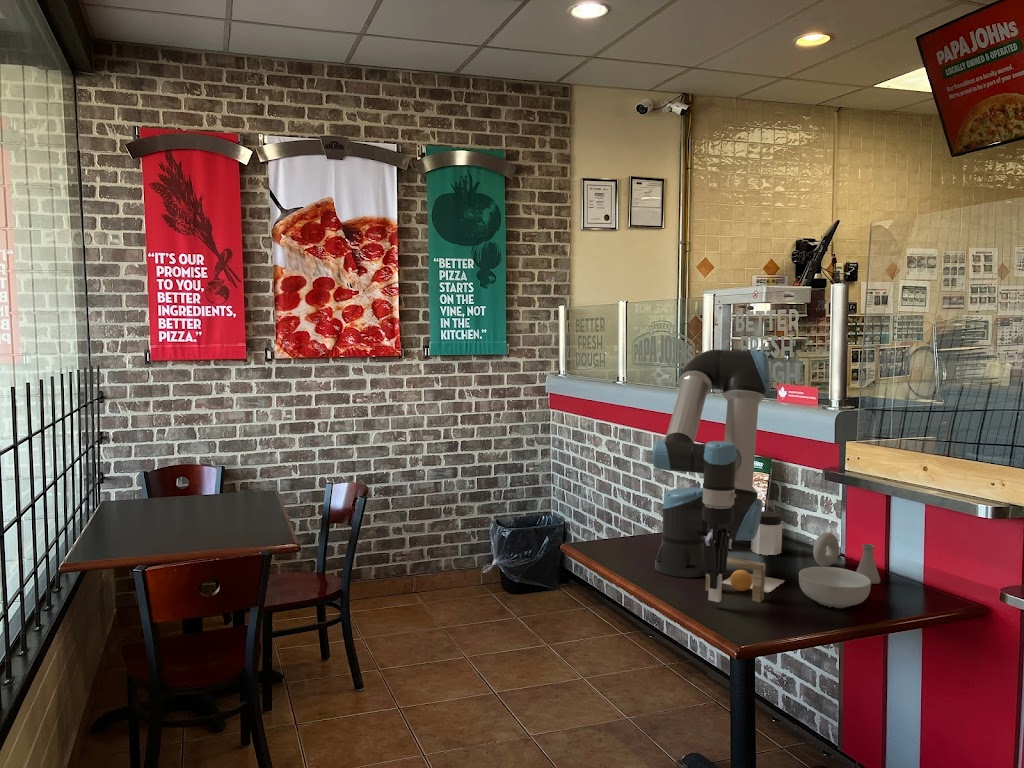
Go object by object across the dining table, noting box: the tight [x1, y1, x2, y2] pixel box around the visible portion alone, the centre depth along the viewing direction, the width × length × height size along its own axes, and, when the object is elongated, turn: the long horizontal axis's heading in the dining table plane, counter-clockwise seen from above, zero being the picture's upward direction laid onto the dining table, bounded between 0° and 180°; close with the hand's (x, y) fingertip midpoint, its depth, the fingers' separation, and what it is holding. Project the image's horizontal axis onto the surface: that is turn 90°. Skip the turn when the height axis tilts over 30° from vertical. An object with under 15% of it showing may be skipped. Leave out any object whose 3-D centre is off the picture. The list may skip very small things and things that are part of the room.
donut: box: [812, 532, 840, 567], centre depth 242 cm, size 10×4×10 cm, turn 125°
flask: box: [855, 543, 882, 585], centre depth 229 cm, size 7×7×10 cm
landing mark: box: [722, 573, 786, 594], centre depth 225 cm, size 13×13×1 cm
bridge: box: [704, 556, 766, 603], centre depth 214 cm, size 3×14×9 cm, turn 54°
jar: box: [750, 510, 783, 556], centre depth 256 cm, size 9×8×12 cm
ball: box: [730, 569, 752, 592], centre depth 217 cm, size 6×6×6 cm
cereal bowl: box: [798, 566, 872, 609], centre depth 209 cm, size 17×17×7 cm
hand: (714, 600), depth 203 cm, fingers closed
